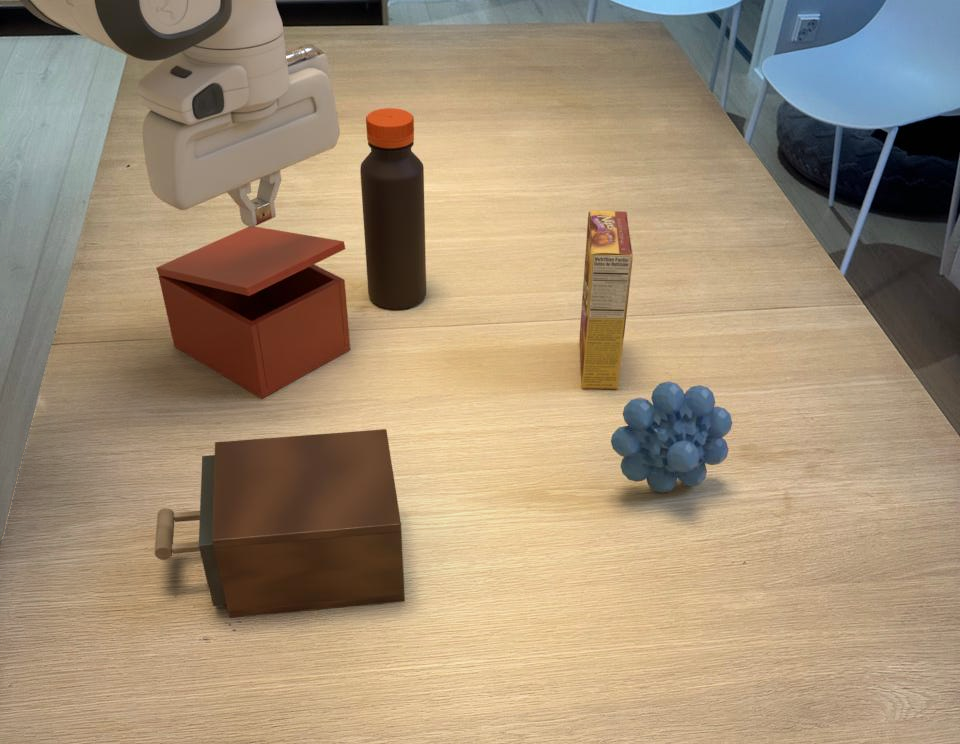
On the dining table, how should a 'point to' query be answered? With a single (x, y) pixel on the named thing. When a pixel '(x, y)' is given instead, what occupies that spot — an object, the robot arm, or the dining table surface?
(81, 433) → the dining table surface
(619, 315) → the candy box
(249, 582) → the cabinet
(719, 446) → the blue knobbed flower
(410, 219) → the bottle
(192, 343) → the chest
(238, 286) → the lid
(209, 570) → the pulled out drawer
